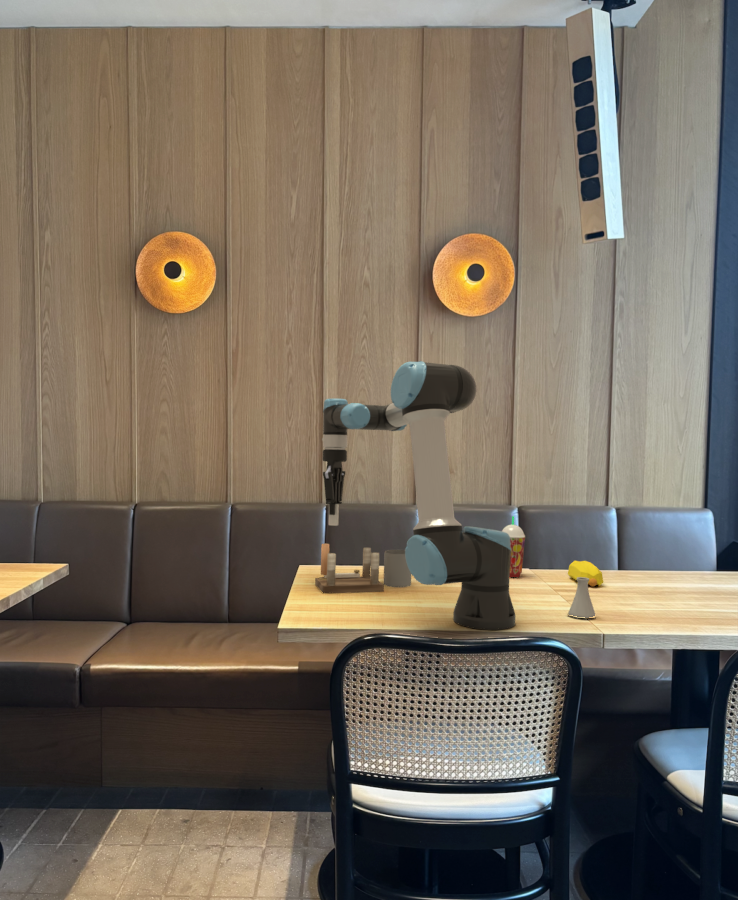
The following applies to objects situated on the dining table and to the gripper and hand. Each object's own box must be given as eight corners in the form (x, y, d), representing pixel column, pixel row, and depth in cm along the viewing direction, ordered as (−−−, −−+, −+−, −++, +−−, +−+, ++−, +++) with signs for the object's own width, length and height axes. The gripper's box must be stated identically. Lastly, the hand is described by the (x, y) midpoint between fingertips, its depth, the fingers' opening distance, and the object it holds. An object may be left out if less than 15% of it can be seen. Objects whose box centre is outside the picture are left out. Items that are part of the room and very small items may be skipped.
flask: (573, 611, 184) (575, 574, 184) (600, 616, 180) (601, 578, 180) (562, 616, 179) (563, 578, 179) (589, 622, 174) (591, 582, 174)
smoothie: (493, 574, 233) (495, 514, 232) (515, 573, 235) (517, 514, 235) (505, 579, 225) (508, 517, 224) (528, 578, 227) (530, 517, 227)
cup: (411, 582, 216) (412, 550, 216) (410, 588, 208) (411, 554, 207) (384, 581, 217) (385, 549, 216) (382, 586, 208) (383, 553, 208)
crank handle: (360, 577, 209) (361, 544, 209) (321, 578, 206) (322, 544, 206) (357, 575, 211) (358, 543, 211) (319, 576, 208) (320, 543, 208)
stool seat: (383, 591, 202) (384, 553, 201) (323, 593, 197) (324, 554, 197) (372, 582, 213) (373, 547, 213) (314, 584, 209) (315, 547, 208)
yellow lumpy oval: (581, 588, 215) (606, 589, 215) (582, 567, 215) (607, 568, 215) (564, 577, 233) (587, 577, 233) (565, 557, 233) (588, 557, 233)
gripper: (331, 448, 221) (330, 522, 221) (315, 448, 209) (313, 526, 209) (353, 449, 219) (352, 523, 219) (338, 448, 207) (336, 528, 206)
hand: (333, 525), depth 214 cm, fingers closed
